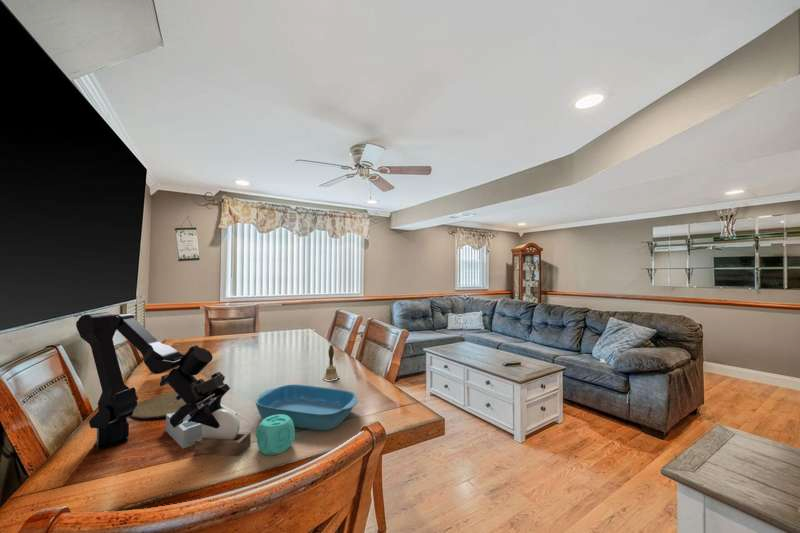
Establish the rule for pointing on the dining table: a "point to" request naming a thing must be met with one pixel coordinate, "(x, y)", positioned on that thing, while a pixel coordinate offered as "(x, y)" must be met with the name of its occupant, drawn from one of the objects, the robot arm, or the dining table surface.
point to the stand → (223, 445)
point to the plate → (223, 426)
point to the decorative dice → (275, 434)
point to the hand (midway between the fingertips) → (221, 424)
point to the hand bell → (331, 366)
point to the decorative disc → (158, 406)
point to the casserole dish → (307, 405)
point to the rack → (186, 430)
